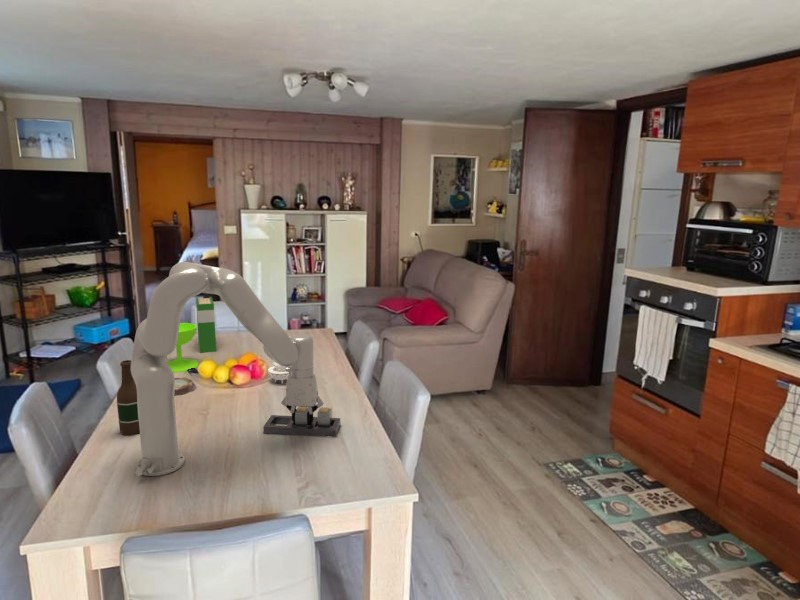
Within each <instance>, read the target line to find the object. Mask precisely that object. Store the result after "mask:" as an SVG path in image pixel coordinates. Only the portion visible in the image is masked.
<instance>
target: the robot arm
mask: <svg viewBox="0 0 800 600" xmlns="http://www.w3.org/2000/svg"><path fill="white" fill-rule="evenodd" d="M200 294H209V295H211V294H212V295H217V296H219V297H220V299H221V300H222V301H223V302H224V304H225V305H226V306H227V307H228V309H229V311H231V313H233V315H234V316H235V317H236V319H237V320H238V321H239V323H240V324H241V325H242V326H243V327H244V328H245V329H246V330H247V331H248V332H249V333H250V334H252V335H253V336H254V337H255V338H256V339H257V340H258V341H259V342H260V343H261V344H262V345H263V347H262V348H263V349H262V350H263V353H264V354H265V355H266V356H267V357H268V358H269V359H270V360H272V361H273V362H276V363H277V364H279V365H281V366H290V367H288V368H286V372H289V373H290V375H289V376H288V378H287V379H286V386H285V387H286V388H285V396H284V398H283V399H282V401H281V402H280V403H281V405H282V406H284V407H286V409H288V410H289V412H290V413H291V416H292V421H293V424H294V425H295V411H296V410H297V408H298V407H307V408H308V410H309V413H308V425H310V424H311V422H313V417H314V412H316V411H317V410H319V409H320V408H322V406H323V407H324V401H323V400H322V398H320V396H319V390H318V389H319V387H318V381H317V377H316V374H315V373H314V339H313V337H312V336H311V335H310V334H307V333H297V334H293V335H289V334H288V333H287V332H286V331H285V329H283V327H282V326H281V325H280V324H279V323H278V321H277V320H276V319H275V318H274V317H273V315H272V313H270V312H269V310H268V309H267V308H266V307H265V305H264V304H263V303H262V301H261V300H260V298H259V297H258V296H257V295H256V294H255V292H254V291H253V289H252V288H251V286H250V285H249V284H248V283H247V281H246V280H245V278H243V276H241V274H239V273H238V272H236V271H233V270H232V269H229V268H224V267H220V266H219V267H218V266H211V265H206V264H201V263H196V262H190V261H181V262H177V263H176V264H175V265H173V266H172V267H171V269H170V270H169V274H168V277H165V279H163V280H162V281H161V282H160V283H159V284H158V286H156V288H155V289H154V291H153V293H152V295H151V296H150V297H151V298H150V302H149V305H148V311H147V315H146V318H145V319H144V320H142V321H141V322H140V323H139V324H138V327H137V329H136V332H135V336H134V339H133V340H134V341H133V347H132V348H133V349H132V353H131V359H130V360H131V374H132V377H133V379H134V381H135V384H136V388H137V407H138V418H139V428H140V433H139V437H140V447H141V459H140V460H139V461H138V463H137V464H136V470H135V475H136V476H138V477H141V476H144V477H145V476H146V477H159V476H164V475H167V474H168V475H169V474H171V473H174V472H176V471H177V470H179V469H180V468H182V466H183V465H184V464H185V456H184V454H183V453H182V452H179V444H178V443H179V442H178V432H177V431H178V430H177V417H176V405H175V401H176V400H175V396H174V392H175V379H174V378H175V376H174V373H173V372H172V370H171V368H170V367H169V365H168V364H167V363H166V362H168V361H167V360H168V356H169V355H171V354H172V353H173V352H174V351H175V349H176V345H177V341H178V332H179V326H180V323H181V318H182V314H183V311H184V307H185V305H186V303H187V302H188V301H190V299H193V298H194V297H196V296H198V295H200Z"/></svg>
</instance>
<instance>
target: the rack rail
mask: <svg viewBox="0 0 800 600" xmlns="http://www.w3.org/2000/svg"><path fill="white" fill-rule="evenodd" d="M340 428H341V418H339V417H332V428H325V427H318V416H313V422H311V424H310V427H304V426H295V425H294V424H293V421H292V415H278V414H277V415H276V414H275V415H274V414H271V415H270V417H269V418H268V420H267V421H266V422H265V424H264V425H263V434H267V435H290V436H306V437H307V436H308V437H310V436H312V437H327V436H332V437H331V438H336V437H337V435H338V432H339V430H340Z"/></svg>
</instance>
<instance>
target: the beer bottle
mask: <svg viewBox="0 0 800 600" xmlns="http://www.w3.org/2000/svg"><path fill="white" fill-rule="evenodd" d="M120 367H121V368H120V369H121V383H120V384H121V385H120V387H119V388H118V390H117V392H116V406H117V416H118V417H117V418H118V426H119V432H120V433H121V435H122V436H135V435H138V434H139V435H140V428H139V418H138V407H137V388H136V384H135V381H134V379H133V377H132V374H131V359H130V360H129V359H126V360H122V361H121V362H120Z"/></svg>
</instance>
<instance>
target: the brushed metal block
mask: <svg viewBox="0 0 800 600" xmlns="http://www.w3.org/2000/svg"><path fill="white" fill-rule="evenodd" d="M296 409H297V410H296V411H295V426H304V427H310V425H308V413H309V410H308V407H298V406H297V407H296Z"/></svg>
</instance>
